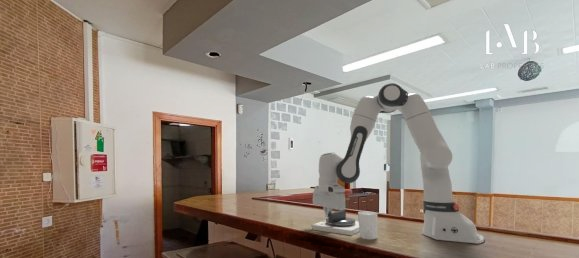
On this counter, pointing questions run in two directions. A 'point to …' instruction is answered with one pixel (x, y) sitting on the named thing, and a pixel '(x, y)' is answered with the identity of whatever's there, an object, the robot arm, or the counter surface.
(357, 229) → the dial panel
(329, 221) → the dial
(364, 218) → the white cup
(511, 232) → the counter surface
